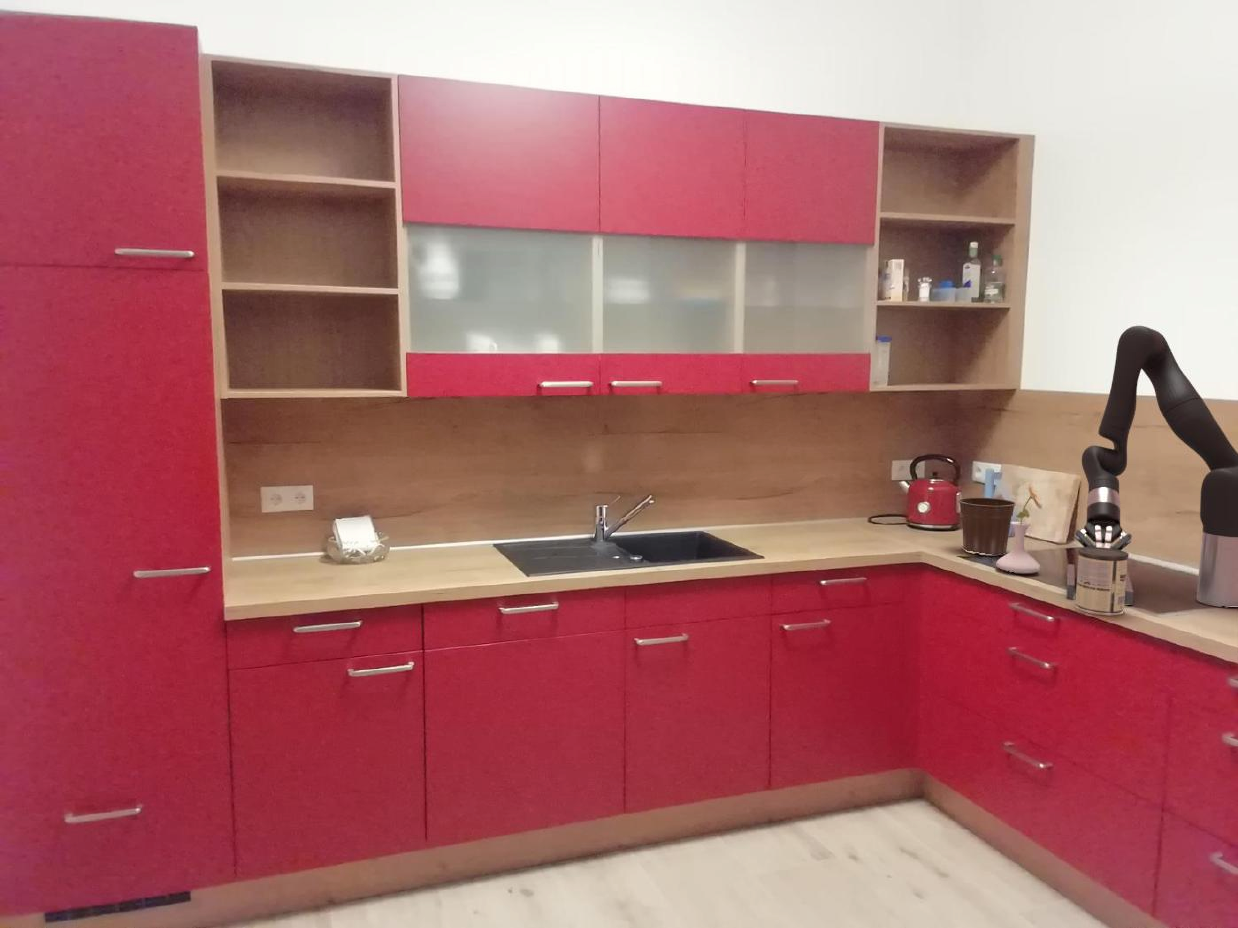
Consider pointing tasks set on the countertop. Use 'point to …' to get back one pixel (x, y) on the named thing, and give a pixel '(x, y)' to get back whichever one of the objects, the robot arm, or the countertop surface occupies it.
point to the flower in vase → (1021, 544)
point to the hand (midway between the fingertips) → (1102, 565)
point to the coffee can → (1101, 581)
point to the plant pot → (986, 524)
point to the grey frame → (1071, 586)
